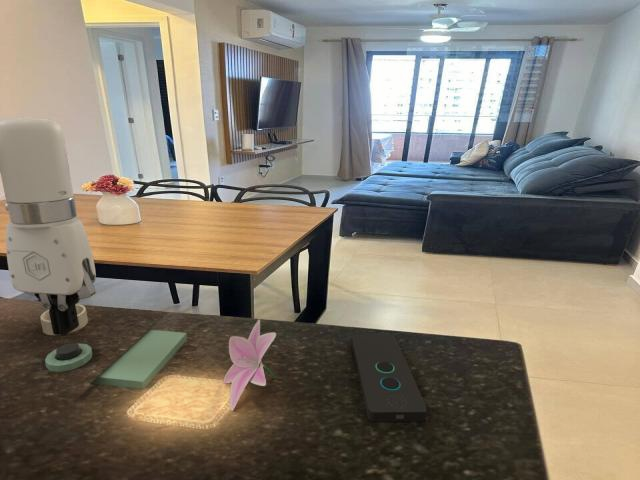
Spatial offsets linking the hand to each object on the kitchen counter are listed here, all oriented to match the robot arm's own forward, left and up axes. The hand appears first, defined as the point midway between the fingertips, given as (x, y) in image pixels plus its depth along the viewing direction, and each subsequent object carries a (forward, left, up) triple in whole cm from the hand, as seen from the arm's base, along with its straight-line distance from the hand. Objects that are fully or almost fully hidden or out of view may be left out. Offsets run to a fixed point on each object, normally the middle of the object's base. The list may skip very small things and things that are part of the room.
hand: (66, 330), depth 58 cm
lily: (+28, +1, -7) cm, 29 cm away
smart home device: (+48, +7, -7) cm, 49 cm away
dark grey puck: (0, 0, -4) cm, 4 cm away
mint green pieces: (+5, +5, -7) cm, 10 cm away
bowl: (-9, +10, -7) cm, 15 cm away
